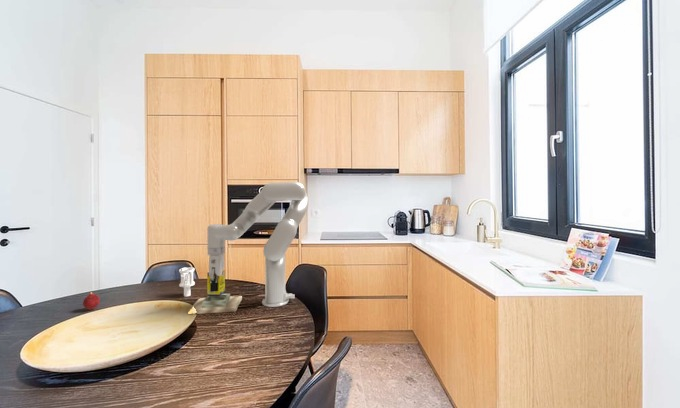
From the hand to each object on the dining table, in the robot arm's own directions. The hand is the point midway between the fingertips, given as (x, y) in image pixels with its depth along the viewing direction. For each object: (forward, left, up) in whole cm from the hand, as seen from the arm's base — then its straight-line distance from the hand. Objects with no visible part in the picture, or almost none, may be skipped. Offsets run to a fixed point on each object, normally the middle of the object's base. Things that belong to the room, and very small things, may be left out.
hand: (216, 288), depth 133 cm
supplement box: (0, 0, -3) cm, 3 cm away
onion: (+55, -5, -9) cm, 56 cm away
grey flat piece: (0, 0, -8) cm, 8 cm away
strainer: (+19, -18, -9) cm, 27 cm away
